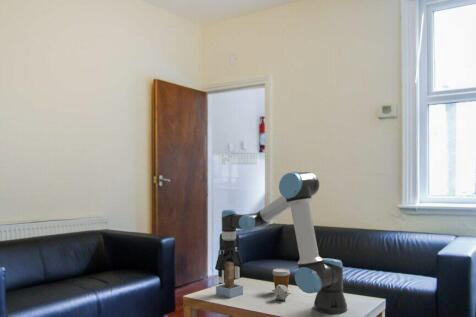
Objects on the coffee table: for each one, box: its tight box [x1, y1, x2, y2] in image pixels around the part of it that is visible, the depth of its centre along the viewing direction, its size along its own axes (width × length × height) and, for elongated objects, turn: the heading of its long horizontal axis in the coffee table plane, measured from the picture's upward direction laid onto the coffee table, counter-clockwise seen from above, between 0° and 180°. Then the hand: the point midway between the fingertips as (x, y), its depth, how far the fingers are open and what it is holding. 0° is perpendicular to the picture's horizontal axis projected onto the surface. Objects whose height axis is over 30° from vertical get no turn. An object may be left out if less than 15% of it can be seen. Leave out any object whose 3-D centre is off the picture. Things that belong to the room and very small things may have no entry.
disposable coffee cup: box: [272, 268, 291, 290], centre depth 238 cm, size 10×10×12 cm
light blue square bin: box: [215, 283, 244, 299], centre depth 235 cm, size 10×10×4 cm
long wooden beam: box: [224, 261, 235, 289], centre depth 235 cm, size 4×4×16 cm
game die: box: [271, 283, 292, 302], centre depth 224 cm, size 9×8×10 cm
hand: (229, 280), depth 235 cm, fingers open, 11 cm apart
